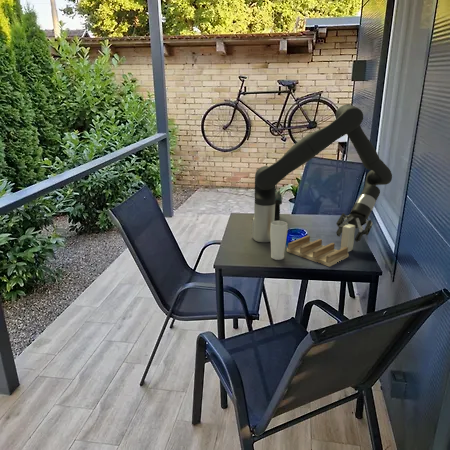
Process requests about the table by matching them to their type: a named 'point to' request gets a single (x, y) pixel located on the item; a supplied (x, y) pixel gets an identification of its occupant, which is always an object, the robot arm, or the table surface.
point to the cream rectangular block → (348, 236)
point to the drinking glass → (278, 239)
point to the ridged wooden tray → (317, 251)
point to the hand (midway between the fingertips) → (346, 238)
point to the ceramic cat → (277, 204)
